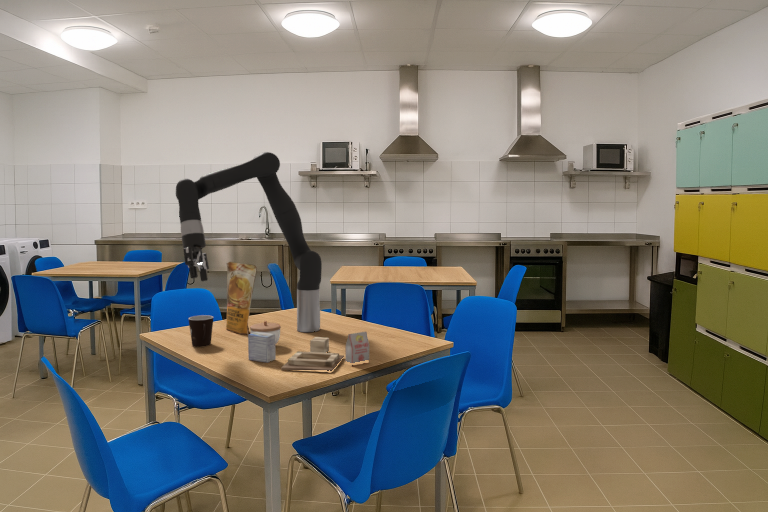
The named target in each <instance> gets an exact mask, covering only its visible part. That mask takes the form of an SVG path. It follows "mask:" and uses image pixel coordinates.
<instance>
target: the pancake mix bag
mask: <svg viewBox="0 0 768 512" xmlns="http://www.w3.org/2000/svg"><path fill="white" fill-rule="evenodd" d="M226 268H227V269H226V271H227V272H226V277H227V278H226V306H227V307H226V325H225V329H226V330H227V331H229V332H232V333H236V334H240V335H249V333H250V330H249V329H250V326H249V318H250V311H251V310H250V309H251V304H252V300H253V299H252V297H253V293H254V287H255V281H256V277H257V273H258V268H257V266H256V265H254V264H251V263H243V262H236V261H228V262H226Z"/></svg>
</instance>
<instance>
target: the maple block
mask: <svg viewBox="0 0 768 512" xmlns="http://www.w3.org/2000/svg"><path fill="white" fill-rule="evenodd" d="M309 342H310V343H309V346H310V348H309V352H322V353H326V352H328V351H329V352H330V338H329V337H321V336H315V337H313V338H312V339H310V340H309ZM329 352H328V353H329Z"/></svg>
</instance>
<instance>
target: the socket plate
mask: <svg viewBox="0 0 768 512" xmlns="http://www.w3.org/2000/svg"><path fill="white" fill-rule="evenodd" d="M343 357H344V358H345V355H344V354H343V355H340V353H336V352H328V353H322V352H310V351H302V350H301V351H300V350H298V351H296V352H295V353H294V354H293V355H292V356H290V357H289V358H288V359H287V362H286V363H285V364H284V365H282V366H281V368H280V369H281V371H282V370H327V371H329V370H330V371H332V370H333V369H334V368H335V367H336V366H337V364H338V363H339V362H340V361H341V359H342V358H343Z"/></svg>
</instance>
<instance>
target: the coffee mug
mask: <svg viewBox="0 0 768 512" xmlns="http://www.w3.org/2000/svg"><path fill="white" fill-rule="evenodd" d="M188 326H189V332H190V339H191V346H192V347H194V346H195V348H196V347H197V348H203V347H209V346H211V345H210V344H212V335H213V327H214V316H212V315H209V314H208V315H206V314H205V315H204V314H201V315H193V316H190V317H188Z"/></svg>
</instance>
